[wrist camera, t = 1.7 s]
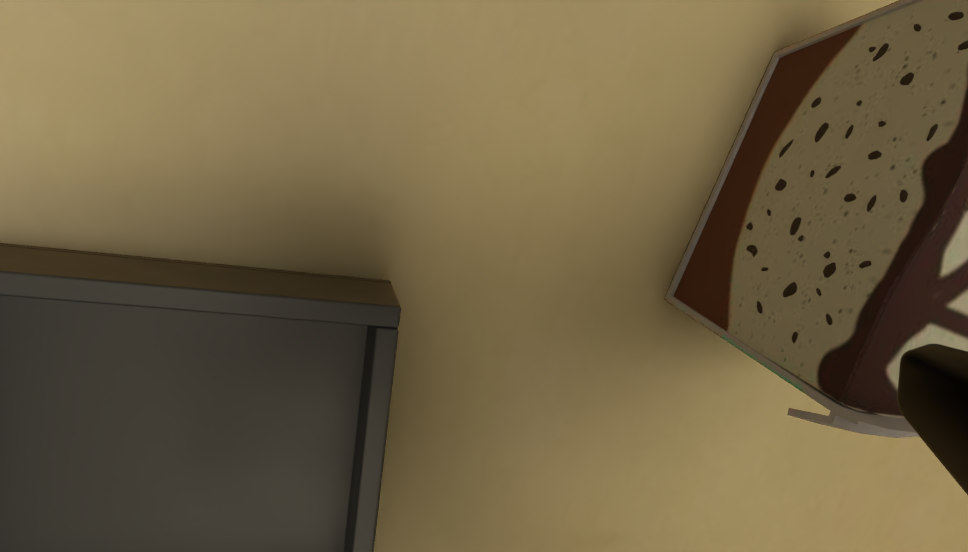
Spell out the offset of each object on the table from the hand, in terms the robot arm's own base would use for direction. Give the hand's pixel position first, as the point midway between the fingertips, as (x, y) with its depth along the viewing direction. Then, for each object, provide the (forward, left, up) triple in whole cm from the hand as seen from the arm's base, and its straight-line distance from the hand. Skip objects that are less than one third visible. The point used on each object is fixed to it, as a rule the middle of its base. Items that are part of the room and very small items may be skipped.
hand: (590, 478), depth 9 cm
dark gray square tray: (-6, +8, -14) cm, 17 cm away
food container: (+4, -12, -14) cm, 19 cm away
